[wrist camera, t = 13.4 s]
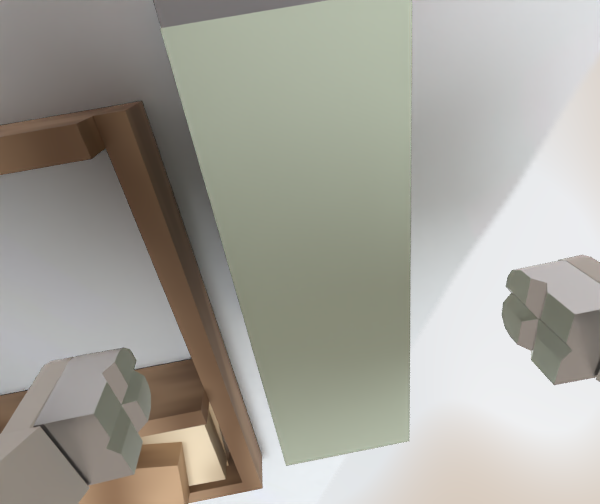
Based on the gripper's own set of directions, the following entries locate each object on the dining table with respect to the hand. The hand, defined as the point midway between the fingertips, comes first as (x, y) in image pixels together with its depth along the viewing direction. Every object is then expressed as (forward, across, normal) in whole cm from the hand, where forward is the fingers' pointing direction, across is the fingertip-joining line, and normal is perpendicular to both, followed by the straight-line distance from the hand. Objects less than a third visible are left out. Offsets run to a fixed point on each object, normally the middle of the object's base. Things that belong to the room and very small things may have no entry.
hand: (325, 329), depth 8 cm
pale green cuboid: (+11, 0, 0) cm, 11 cm away
